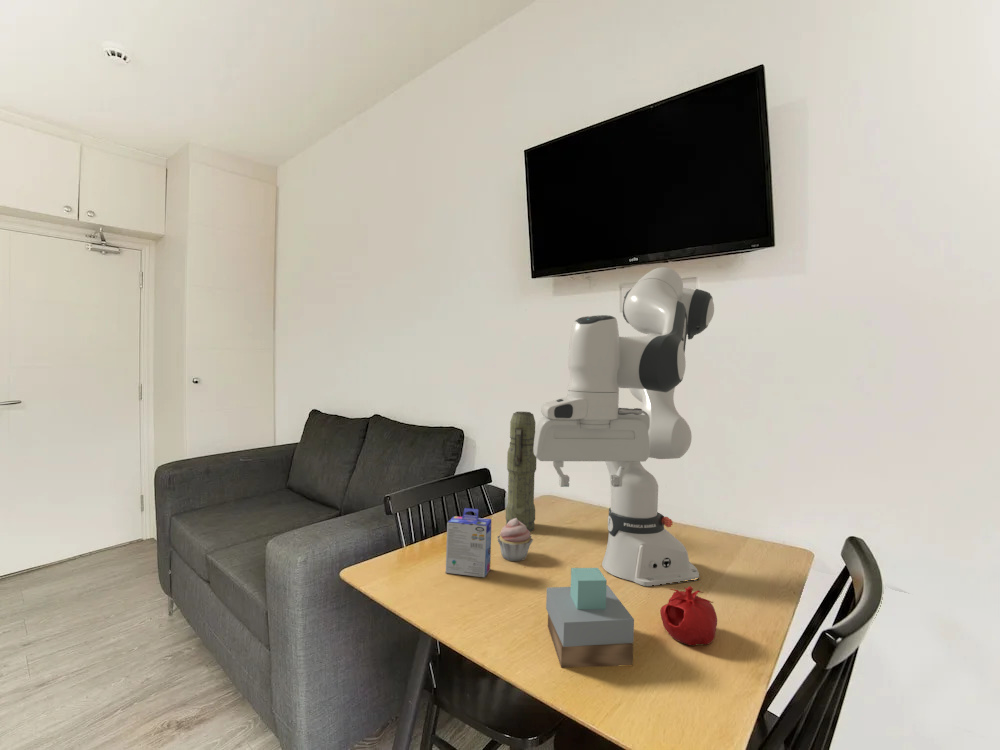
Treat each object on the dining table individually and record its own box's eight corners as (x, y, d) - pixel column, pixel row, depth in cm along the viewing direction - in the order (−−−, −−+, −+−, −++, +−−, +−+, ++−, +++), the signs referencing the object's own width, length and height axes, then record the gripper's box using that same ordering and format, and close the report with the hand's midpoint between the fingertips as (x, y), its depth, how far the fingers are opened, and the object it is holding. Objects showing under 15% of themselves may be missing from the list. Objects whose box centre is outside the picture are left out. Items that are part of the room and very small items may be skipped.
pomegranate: (708, 623, 90) (710, 576, 90) (724, 655, 80) (726, 602, 80) (655, 618, 92) (657, 571, 92) (665, 648, 82) (666, 596, 82)
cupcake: (531, 566, 114) (532, 525, 114) (493, 562, 116) (494, 522, 115) (534, 551, 123) (535, 513, 123) (499, 548, 125) (500, 511, 125)
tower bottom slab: (609, 627, 89) (610, 607, 89) (632, 668, 77) (633, 645, 77) (547, 629, 88) (548, 608, 88) (561, 670, 76) (561, 646, 76)
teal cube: (597, 594, 85) (598, 567, 85) (605, 609, 80) (606, 580, 80) (570, 595, 85) (571, 568, 85) (577, 609, 80) (578, 580, 80)
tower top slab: (607, 605, 89) (607, 585, 89) (633, 643, 77) (634, 619, 77) (546, 608, 88) (546, 587, 88) (563, 646, 76) (564, 622, 76)
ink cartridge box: (491, 568, 112) (492, 508, 112) (486, 578, 107) (487, 516, 106) (452, 564, 114) (453, 505, 114) (444, 573, 109) (446, 512, 108)
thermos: (536, 522, 146) (539, 411, 146) (532, 535, 135) (535, 414, 134) (508, 519, 148) (511, 409, 147) (502, 532, 136) (505, 413, 136)
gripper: (642, 406, 85) (640, 481, 86) (532, 405, 84) (530, 481, 84) (657, 410, 79) (655, 490, 79) (538, 408, 77) (536, 491, 78)
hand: (590, 486), depth 82 cm, fingers open, 8 cm apart
